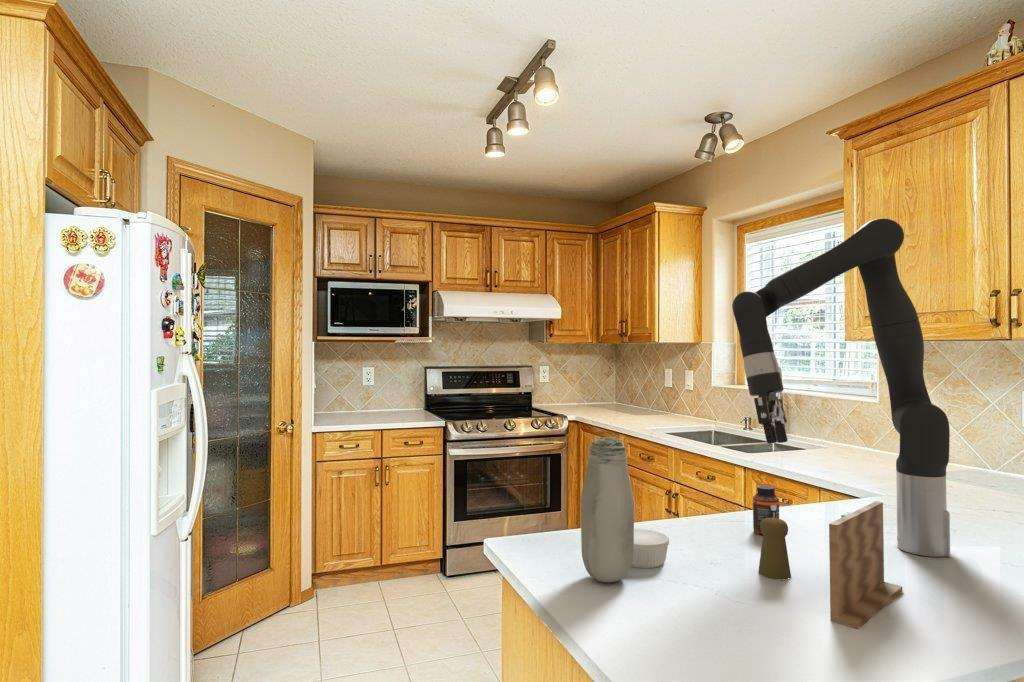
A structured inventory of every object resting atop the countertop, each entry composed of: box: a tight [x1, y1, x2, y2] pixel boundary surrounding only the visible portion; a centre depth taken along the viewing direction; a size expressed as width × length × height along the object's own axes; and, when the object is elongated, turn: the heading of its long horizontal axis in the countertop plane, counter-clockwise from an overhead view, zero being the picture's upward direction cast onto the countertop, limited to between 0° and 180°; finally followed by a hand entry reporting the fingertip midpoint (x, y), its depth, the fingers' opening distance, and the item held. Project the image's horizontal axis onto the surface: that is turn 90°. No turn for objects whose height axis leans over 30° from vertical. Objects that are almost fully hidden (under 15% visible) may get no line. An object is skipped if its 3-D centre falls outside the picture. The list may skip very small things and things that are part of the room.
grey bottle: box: [580, 436, 635, 584], centre depth 117 cm, size 10×10×28 cm
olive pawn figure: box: [757, 518, 792, 581], centre depth 119 cm, size 6×6×11 cm
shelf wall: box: [828, 500, 903, 630], centre depth 104 cm, size 22×4×16 cm, turn 131°
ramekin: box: [631, 528, 670, 569], centre depth 127 cm, size 11×11×5 cm
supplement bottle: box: [752, 485, 780, 536], centre depth 145 cm, size 6×6×11 cm
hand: (777, 442), depth 136 cm, fingers open, 8 cm apart
